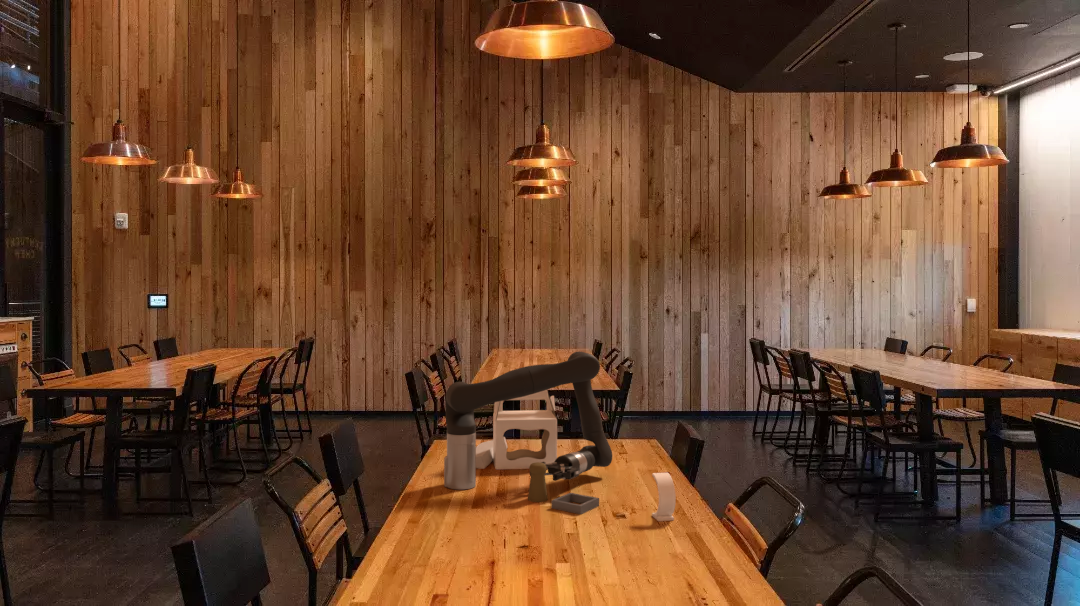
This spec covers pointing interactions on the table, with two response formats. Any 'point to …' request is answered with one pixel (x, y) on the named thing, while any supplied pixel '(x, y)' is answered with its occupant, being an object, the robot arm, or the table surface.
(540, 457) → the gable box
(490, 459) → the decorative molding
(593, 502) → the square frame
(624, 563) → the table surface
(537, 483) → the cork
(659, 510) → the white curved bracket
